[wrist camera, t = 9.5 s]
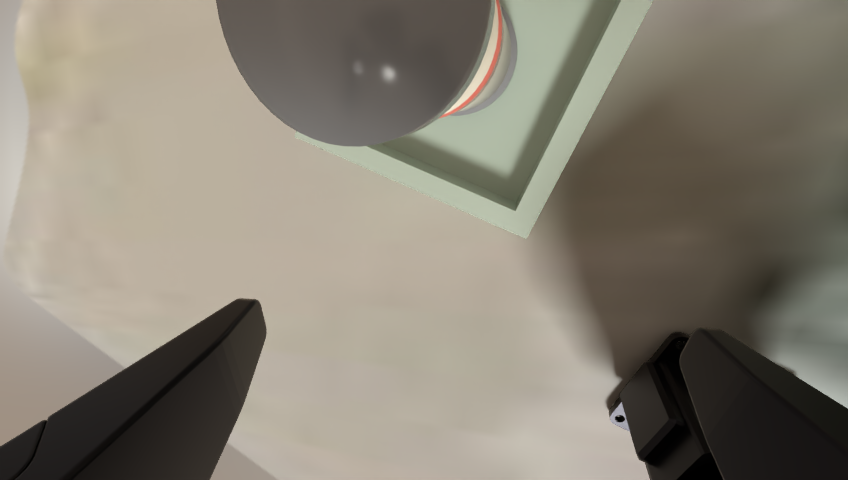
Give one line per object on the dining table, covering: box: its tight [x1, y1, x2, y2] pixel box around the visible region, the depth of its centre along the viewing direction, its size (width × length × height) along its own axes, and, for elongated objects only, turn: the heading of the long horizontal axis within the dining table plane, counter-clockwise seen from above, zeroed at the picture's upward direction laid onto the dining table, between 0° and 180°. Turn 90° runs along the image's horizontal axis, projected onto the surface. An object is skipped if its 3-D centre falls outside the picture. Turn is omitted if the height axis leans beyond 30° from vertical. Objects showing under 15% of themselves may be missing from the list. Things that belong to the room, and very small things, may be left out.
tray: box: [295, 0, 653, 239], centre depth 17 cm, size 12×12×2 cm
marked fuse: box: [216, 0, 518, 147], centre depth 12 cm, size 5×5×12 cm
